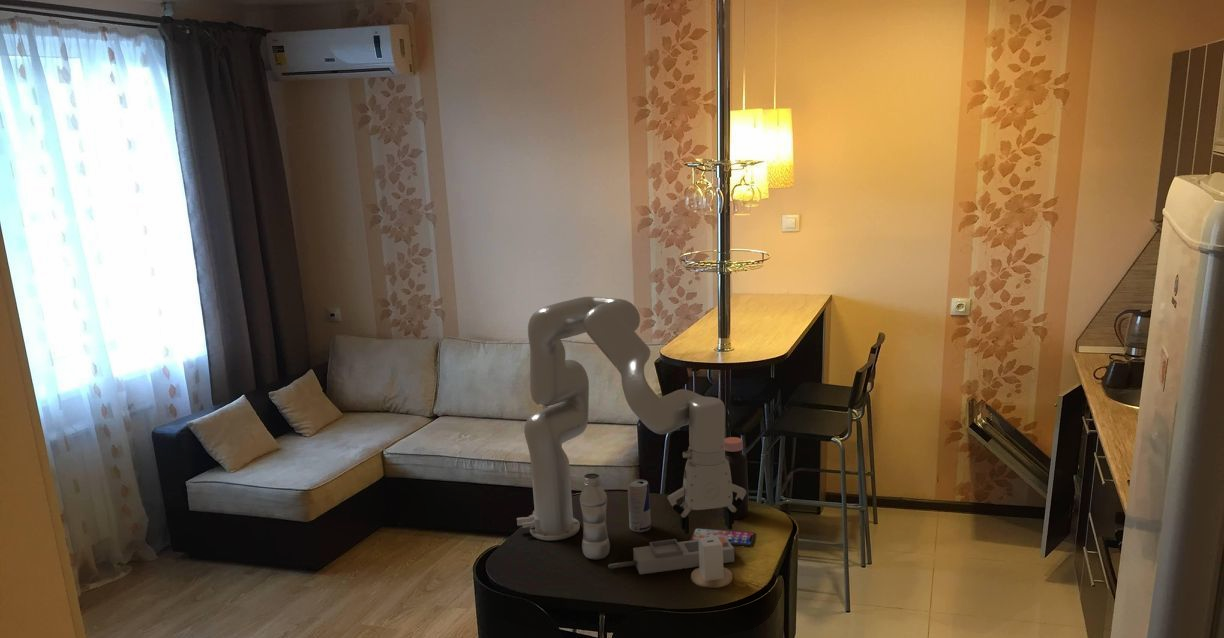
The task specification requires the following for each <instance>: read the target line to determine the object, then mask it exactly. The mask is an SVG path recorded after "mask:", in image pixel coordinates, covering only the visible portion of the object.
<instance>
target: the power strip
mask: <svg viewBox="0 0 1224 638" xmlns="http://www.w3.org/2000/svg"><path fill="white" fill-rule="evenodd" d="M718 538H719V540H720V541H721V543H722V544H723V564H727V563H733V562H735V548H734V546H732V545H731V544H730V542H729V541H728V539H727V538H726V537H725V536H721V537H718ZM632 551H633V552H632V553H633V560H628V561H621V562H615V563H609V564H608V565H607V567H608V568H609V569H617V568H624V567H625V568H626V567H630V566H631V567H632V566H635V567H636V569H637V571H638V573H639V574H638V575H645V574H654V573H659V572H660V573H661V572H668V571H675V570H676V571H677V570H682V569H683V568H684V569H691V568H696V567H697V568H699V544H698V540H691V541H690V540H685V541H684V540H683V541H678V540H677V539H676V538H672V539H663V540H656V541H650V542H649V545H645V546H639V547H638V546H637V547H633V548H632Z"/></svg>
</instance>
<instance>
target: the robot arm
mask: <svg viewBox="0 0 1224 638" xmlns="http://www.w3.org/2000/svg"><path fill="white" fill-rule="evenodd" d="M640 316H641V315H640V313H639V310H638V308H637V307H636V306H635V305H634V304H633V303H632V302H630V301H628V300H625V299H622V298H612V297H610V298H609V297H599V296H582V297H578V298H573V299H570V300H564V301H561V302H557V303H556V302H555V303H554V304H549V305H546V306H544V307H541V308H539V309H537V310H536V311H534V313H532V315H531V316H530V318H529V321H528V324H527V337H528V343H529V350H530V352H529V353H530V355H529V357H530V358H529V381H530V383H529V387H530V388H529V390H530V396H531V399H532V401H533V402H534V403H535V404H536V405H537V406H540V407H545V408H542V409H540V410H538V411H537V412H534V413H533V414H532V415H530V416H529V417H528V418H527V419H526V421H525V424H524V428H523V430H524V432H523V433H524V437H525V440H526V444H527V449H528V452H529V459H530V469H531V470H530V471H531V481H532V494H533V505H534V506H533V507H534V510H533V511H532V514H529V515H528V516H526V517H524V516H522V517H517V518H516V524H517V526H518V527H519V526H522V528H523V529H527V528H529V533H530V535H531V536H532V537H533V538H536V539H538V540H542V541H560V540H565V539H568V538H571V537H573V536H575V535H576V534H577V533H578V532H579V531H580V529H581V527H580V526H581V525H580V521H579V520H578V519H576V518H575V517H574V514H573V500H572V499H573V496H572V486H571V485H572V482H571V469H570V468H571V467H570V459H569V457H568V455H567V453H566V452H565V450H564V449H563V447H562V446H563V444H564V443H566V442H568V441H570V440H572V439H575V438H576V437H579V436H581V434H583V433H584V432H585V431H586V429H587V426H588V422H589V408H590V407H589V400H590V398H589V397H590V388H589V387H590V385H589V384H590V383H589V376H588V374H587V372H586V370H585V367H584V366H583V365H582V364H581V363H580V362H578V361H577V360H574V359H566V349H565V345H564V343H563V341H562V340H564V339H569V338H571V337H575V336H579V335H582V334H585V333H586V334H587V336H588V337H589V338H590V339H591V340H592V342H594V344H595V345H596V346H597V348H599V350H600V351H601V352H602V353H603V354H604V356H606V358H607V359H608V360H609V362H611V364H612V365H613V366H614V367H615V369H617V371H618V372H619V373H620V378H621V386H622V390H623V393H624V397H625V401H626V402H627V404H628V406H629V407H630V409H631V411H632V413H634V414H635V416H636V417H637V418H638V419H639V421H640V422H642V424H644V426H645V427H646V428H647V429H649V430H650V431H652V432H653V433H655V434H657V435H667V434H669V433H672V432H674V431H676V430H678V429H680V428H681V427H685V426H688V435H689V437H688V442H689V443H688V445H689V446H688V448H687V450H686V451H683V452H682V458H683V459H687V460H686V462H685V466H684V472H683V473H684V474H683V482H682V486H681V488H679V489H677V490H676V491H674V492H672V493H671V494H669V495H668V496H666V498H667V500H668V501H669V504H670V506H671V507H672V508H673V510H674V512H676V513H678V514H679V526H680V527H679V528H680V529H681V530H683V532H684V534H685V535H689V534H690V517H689V515H688V514H689V513H690V512H691V511H700V510H711V509H721V508H722V507H726V508H725V517H724V524H725V527H727V529H728V530H730V531H733V525H734V524H735V519H734V512H735V511H736V508H737V507H738V506H739V505H740V504H741V503H742V500H743V498H744V497H745V495H746V490H745V489H744V488H742V487H739V486H737V485H734V484H732V480H731V471H730V466H729V461H728V460H727V459H726V458H725V438H726V435H725V433H726V425H725V424H726V407H725V403H724V402H723V400H722V399H720V398H717V397H714V396H704V395H702V394H700V393H697V392H694V391H692V390H689V389H684V388H683V389H677V390H675V391H672V392H670V393H668V394H665V395H663V396H661V397H659V396H658V394H656V392H655V391H654V390H653V389H652V388H651V386H650V384H649V383H648V381H647V379H646V375H645V365H646V364H647V362H648V361H649V359H650V357H651V349H650V347H649V346H648V345H647V344H646V343H645V342H644V341H643V338H641V337H640V336H639V335H638V334H637V333H636V331H637V329H638V328H639V327H640V323H641V317H640ZM732 491H733V492H736V493H737V496H736V497H735V498H734V499H733V493H732ZM681 498H682V500H683V502H682V503H681V504H678V502H677V501H678V500H679V499H681Z"/></svg>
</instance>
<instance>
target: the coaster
mask: <svg viewBox="0 0 1224 638" xmlns="http://www.w3.org/2000/svg"><path fill="white" fill-rule="evenodd" d="M723 571H724V578H723V579H716V580H710V581H705V580H704V578H703V577H702V575H701V574H700V571H699V567H697V568H695V569H694V570H693V571H692V572H691V574H690V579H691V581H692V583H693V584H694V585H696V586H698V587H701V588H706V589H718V588H723V587H726V586H728V585H729V584H731V582H732V581H733V573H732V571H731V570H730V569H728V568H727V567H724V566H723Z"/></svg>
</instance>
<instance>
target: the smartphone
mask: <svg viewBox="0 0 1224 638" xmlns="http://www.w3.org/2000/svg"><path fill="white" fill-rule="evenodd" d="M691 533H692V534H691V535H690V538H689V541H691V540H698V538H705V537H712V536H717V537H721V536H725V537H726V538H727V539H728V541H729V542H730V544H731V545H732V547H738V546H744V547H743V548H752V547H753V546H754V542H753V541H755V538H756V533H755V532H754V531H745V530H744V531H743V530H742V531H741V530H729V529H728V530H727V529H713V528H703V527H702V528H701V527H700V528H699V527H696V528H694V529H693V532H691ZM752 545H753V546H752ZM751 546H752V547H751Z"/></svg>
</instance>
